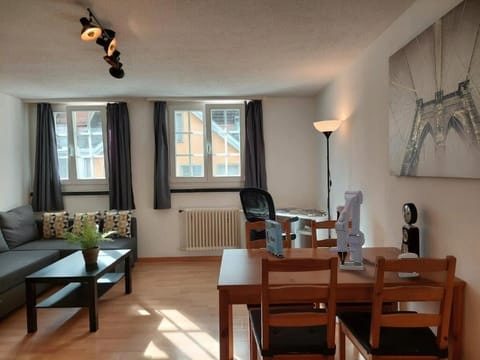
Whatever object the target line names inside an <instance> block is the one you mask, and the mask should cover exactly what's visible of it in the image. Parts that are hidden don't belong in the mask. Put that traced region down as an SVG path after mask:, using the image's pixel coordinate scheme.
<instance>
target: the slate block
mask: <svg viewBox="0 0 480 360" xmlns="http://www.w3.org/2000/svg"><path fill="white" fill-rule="evenodd" d="M353 262H354V266H361V263H362V261H361V260H354V261H353Z"/></svg>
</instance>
